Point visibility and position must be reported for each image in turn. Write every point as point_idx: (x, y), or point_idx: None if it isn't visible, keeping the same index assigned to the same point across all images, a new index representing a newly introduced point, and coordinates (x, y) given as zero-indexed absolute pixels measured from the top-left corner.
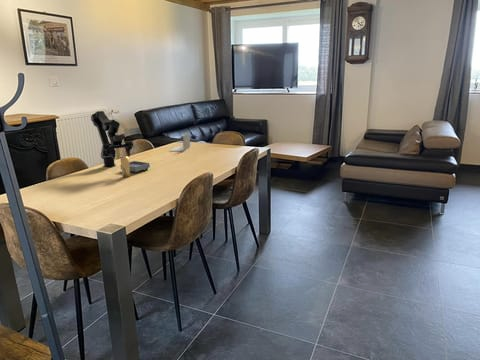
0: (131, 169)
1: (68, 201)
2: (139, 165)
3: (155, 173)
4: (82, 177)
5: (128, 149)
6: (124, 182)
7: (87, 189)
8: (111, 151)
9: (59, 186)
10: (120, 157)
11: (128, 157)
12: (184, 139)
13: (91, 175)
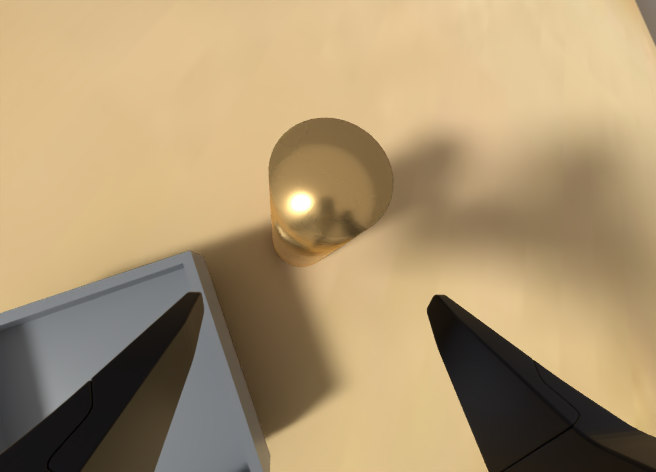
0: (219, 312)
1: (598, 66)
2: None
3: (79, 166)
4: None
5: (64, 444)
6: (360, 127)
7: (536, 153)
8: (569, 409)
9: (645, 304)
10: (391, 189)
11: (280, 143)
12: None
13: None
